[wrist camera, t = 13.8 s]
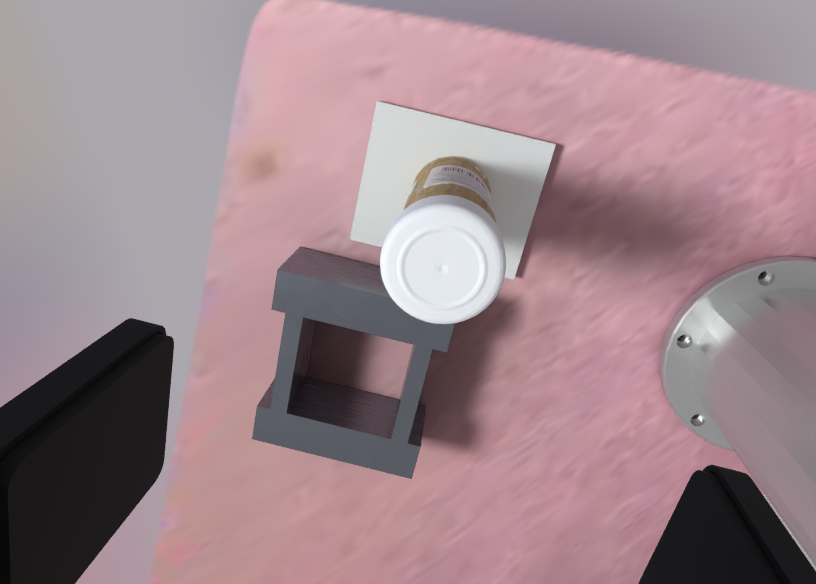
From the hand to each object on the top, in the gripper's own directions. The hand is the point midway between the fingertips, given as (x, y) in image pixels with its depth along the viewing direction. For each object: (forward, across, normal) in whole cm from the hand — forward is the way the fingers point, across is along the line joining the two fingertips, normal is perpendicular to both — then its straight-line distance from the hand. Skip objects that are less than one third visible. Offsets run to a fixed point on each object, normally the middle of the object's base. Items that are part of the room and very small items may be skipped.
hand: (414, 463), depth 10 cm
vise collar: (+25, +3, +11) cm, 27 cm away
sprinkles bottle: (+25, 0, 0) cm, 25 cm away
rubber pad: (+25, 0, 0) cm, 25 cm away
